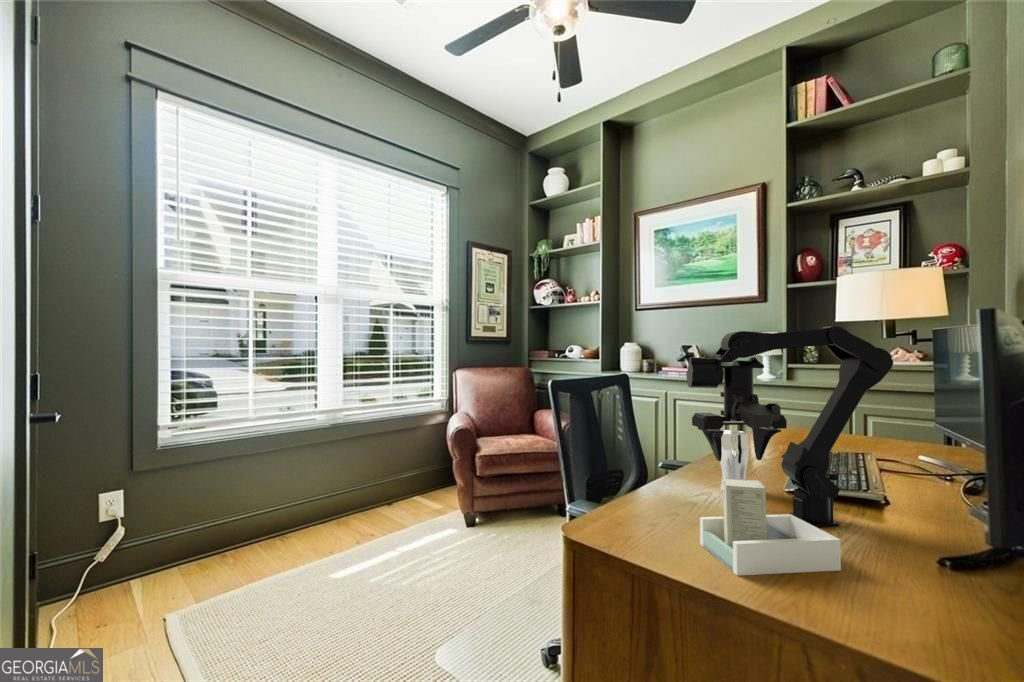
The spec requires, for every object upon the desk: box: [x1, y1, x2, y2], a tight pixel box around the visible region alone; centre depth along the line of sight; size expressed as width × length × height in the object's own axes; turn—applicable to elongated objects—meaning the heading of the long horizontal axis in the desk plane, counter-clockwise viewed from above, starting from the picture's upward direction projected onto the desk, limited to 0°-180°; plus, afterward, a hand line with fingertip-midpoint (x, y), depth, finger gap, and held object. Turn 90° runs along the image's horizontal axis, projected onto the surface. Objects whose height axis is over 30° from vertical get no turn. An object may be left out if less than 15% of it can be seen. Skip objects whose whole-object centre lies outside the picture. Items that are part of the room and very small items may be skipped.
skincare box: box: [722, 478, 767, 549], centre depth 74 cm, size 6×4×12 cm
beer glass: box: [719, 429, 750, 491], centre depth 110 cm, size 7×7×15 cm
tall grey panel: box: [767, 521, 797, 540], centre depth 75 cm, size 1×8×4 cm, turn 6°
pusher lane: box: [699, 513, 842, 576], centre depth 75 cm, size 18×11×5 cm, turn 96°
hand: (738, 460), depth 94 cm, fingers open, 9 cm apart
